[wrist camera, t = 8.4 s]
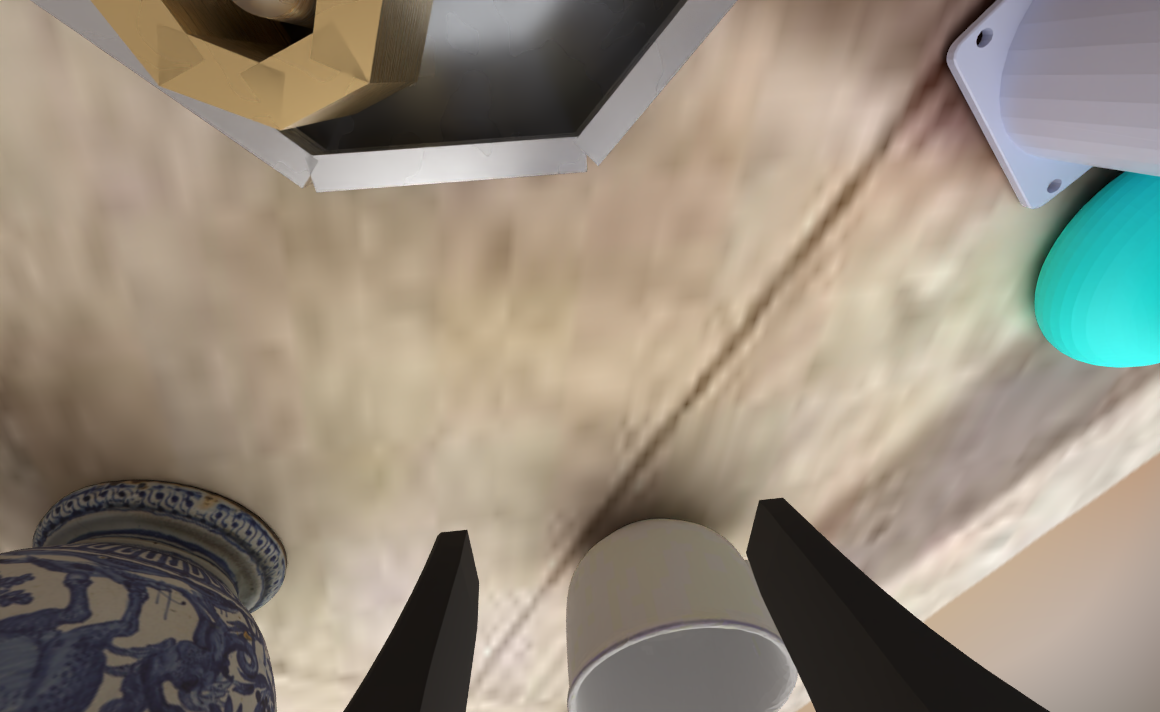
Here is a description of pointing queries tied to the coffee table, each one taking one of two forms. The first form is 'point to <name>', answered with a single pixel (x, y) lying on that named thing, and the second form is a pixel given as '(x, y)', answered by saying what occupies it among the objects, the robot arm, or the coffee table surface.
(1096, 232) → the donuts
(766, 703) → the teacup
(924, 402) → the coffee table surface
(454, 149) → the tray
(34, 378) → the coffee table surface
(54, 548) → the decorative vase
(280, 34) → the gear
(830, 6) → the coffee table surface
